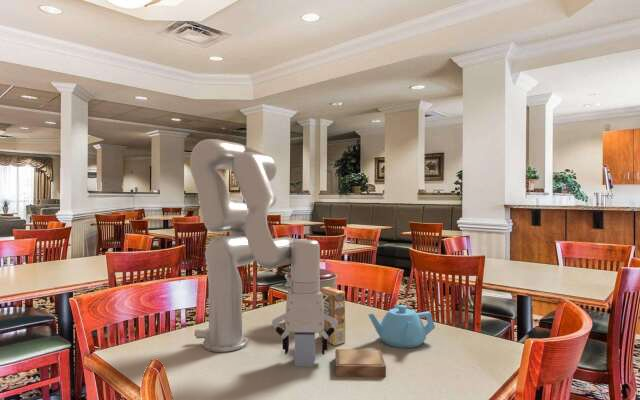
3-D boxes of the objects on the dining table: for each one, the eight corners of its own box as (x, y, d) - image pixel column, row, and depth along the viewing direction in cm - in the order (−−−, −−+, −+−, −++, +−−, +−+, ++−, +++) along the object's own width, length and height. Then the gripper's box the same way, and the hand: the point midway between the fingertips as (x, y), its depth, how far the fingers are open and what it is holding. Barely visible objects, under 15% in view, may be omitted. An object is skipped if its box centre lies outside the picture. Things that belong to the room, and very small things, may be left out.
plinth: (335, 376, 101) (336, 365, 101) (335, 358, 112) (335, 348, 112) (385, 376, 101) (385, 365, 101) (380, 359, 112) (380, 349, 112)
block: (294, 365, 107) (294, 334, 107) (296, 358, 112) (296, 328, 112) (314, 366, 107) (314, 334, 107) (314, 358, 112) (314, 328, 112)
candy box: (346, 343, 124) (346, 291, 124) (334, 345, 122) (334, 293, 122) (329, 335, 131) (329, 286, 131) (317, 337, 129) (317, 287, 129)
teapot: (409, 355, 115) (410, 316, 115) (366, 341, 126) (366, 305, 126) (437, 341, 126) (437, 305, 126) (395, 330, 137) (395, 297, 137)
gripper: (270, 290, 106) (270, 357, 106) (338, 290, 106) (338, 358, 106) (274, 283, 114) (274, 346, 114) (338, 284, 113) (337, 347, 113)
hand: (305, 352), depth 110 cm, fingers open, 9 cm apart
